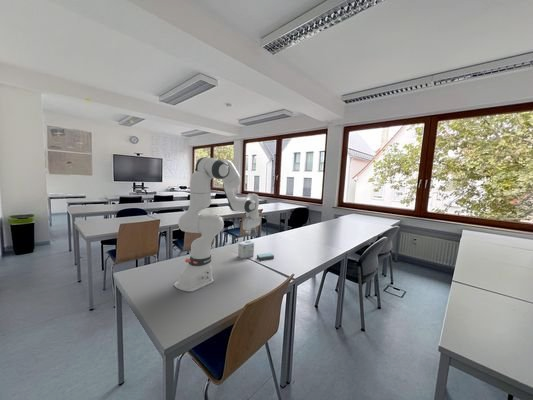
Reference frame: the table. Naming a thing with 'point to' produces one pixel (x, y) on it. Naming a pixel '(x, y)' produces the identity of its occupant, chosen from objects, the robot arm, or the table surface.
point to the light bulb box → (245, 249)
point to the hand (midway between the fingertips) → (251, 233)
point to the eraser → (265, 256)
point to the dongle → (252, 233)
